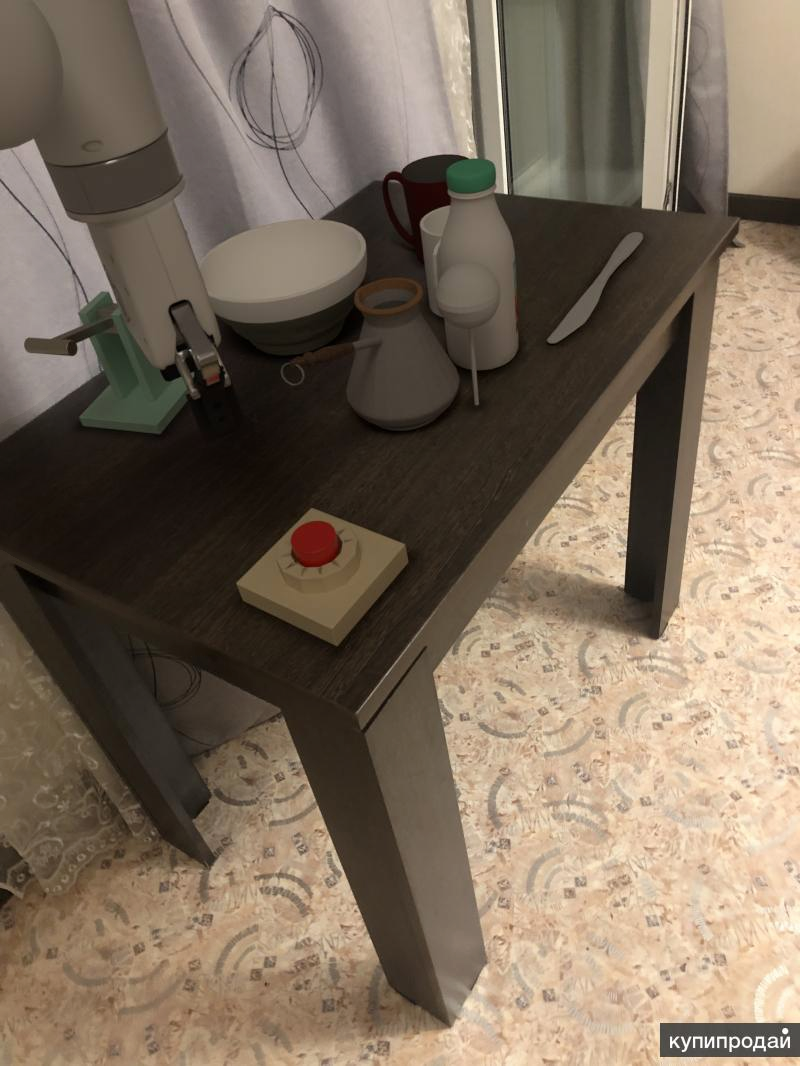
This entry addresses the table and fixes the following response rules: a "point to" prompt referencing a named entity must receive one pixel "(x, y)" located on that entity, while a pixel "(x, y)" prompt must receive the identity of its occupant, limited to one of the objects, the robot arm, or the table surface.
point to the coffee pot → (393, 359)
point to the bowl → (286, 282)
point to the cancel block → (325, 579)
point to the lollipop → (468, 302)
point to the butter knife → (595, 289)
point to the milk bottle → (480, 262)
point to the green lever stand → (129, 381)
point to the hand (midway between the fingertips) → (203, 402)
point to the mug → (420, 193)
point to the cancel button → (315, 544)
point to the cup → (433, 250)
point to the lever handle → (74, 335)
